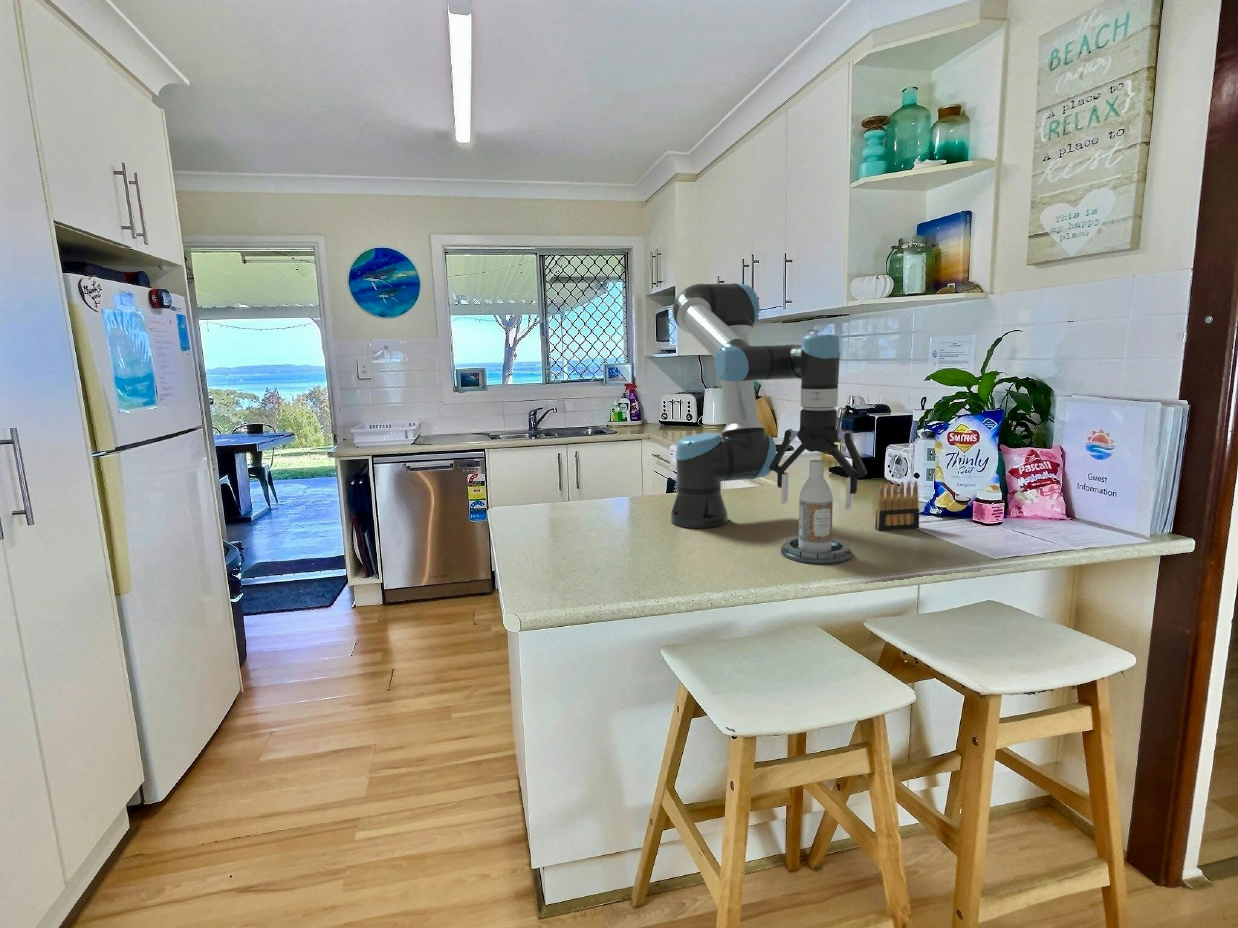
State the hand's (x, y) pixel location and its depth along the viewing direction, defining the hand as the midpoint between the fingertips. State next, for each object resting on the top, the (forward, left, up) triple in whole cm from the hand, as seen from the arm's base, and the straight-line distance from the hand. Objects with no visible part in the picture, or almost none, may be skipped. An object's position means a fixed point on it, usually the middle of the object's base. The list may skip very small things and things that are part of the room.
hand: (815, 505), depth 136 cm
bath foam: (0, 0, -10) cm, 10 cm away
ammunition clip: (+14, +28, -11) cm, 33 cm away
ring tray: (0, 0, -11) cm, 11 cm away
